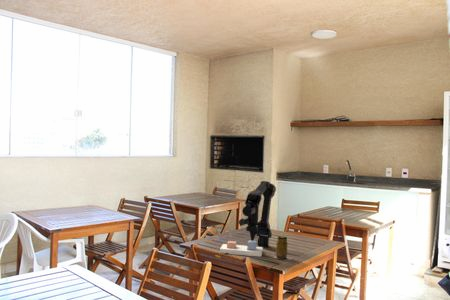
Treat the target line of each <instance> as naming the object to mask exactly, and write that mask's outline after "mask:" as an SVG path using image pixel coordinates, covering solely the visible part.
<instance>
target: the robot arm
mask: <svg viewBox="0 0 450 300" xmlns="http://www.w3.org/2000/svg"><path fill="white" fill-rule="evenodd" d="M276 191H277V188H276V186H275V184H273V183H271V182H270V181H266V180H265V181H264V180H263V181H260V184H258V186H257V187H256V188H255V189H254V190H251V191H250V192H249V193H248V194H247V195H246V196H247V197H246V199H245V202H244V205H245V206H244V207H242V215H243V216H245V217H243V218H240V219H238V225H239V227H243V226H245V225H247V226H246V229H245V231H246V232H249V236H250V240H251V241H255V238H256V237H258V238H257V247H263V248H269V247H270V243H269V242H270V239H271V238H272V236H273V235H272V230H271V225H270V223H269V219H270V218H269V217H270V209H271V204H272V202H271V201H272V199H273V197H274V196H275V194H276ZM262 196H263V203H262V210H261V217H260V220H259V209H260V204H261V201H262Z"/></svg>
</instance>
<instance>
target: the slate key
mask: <svg viewBox="0 0 450 300" xmlns="http://www.w3.org/2000/svg"><path fill="white" fill-rule="evenodd" d="M246 246H247V249H253V250H256V247H258V240H253V241H251V239H249V240H247V245H246Z"/></svg>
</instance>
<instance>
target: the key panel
mask: <svg viewBox="0 0 450 300" xmlns="http://www.w3.org/2000/svg"><path fill="white" fill-rule="evenodd" d="M263 250H264V247H258V246H256V250H253V249H247V245H243V244H242V245H241V244H236V249H234V248H227V243H222V245H221V247H220V248H219V253H220V252H224V253H223V254H225V253H229V254H228V255H236V256H237V255H239V256H249V257H262V255H263Z"/></svg>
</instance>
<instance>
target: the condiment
mask: <svg viewBox="0 0 450 300" xmlns="http://www.w3.org/2000/svg"><path fill="white" fill-rule="evenodd" d="M275 252H276V253H275V256H273V257H272V258H275V259H278V260H282V261H290V260H292V259H293V258H292V257H288V237H287V236H284V235H279V236H277V241H276V250H275Z"/></svg>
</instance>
